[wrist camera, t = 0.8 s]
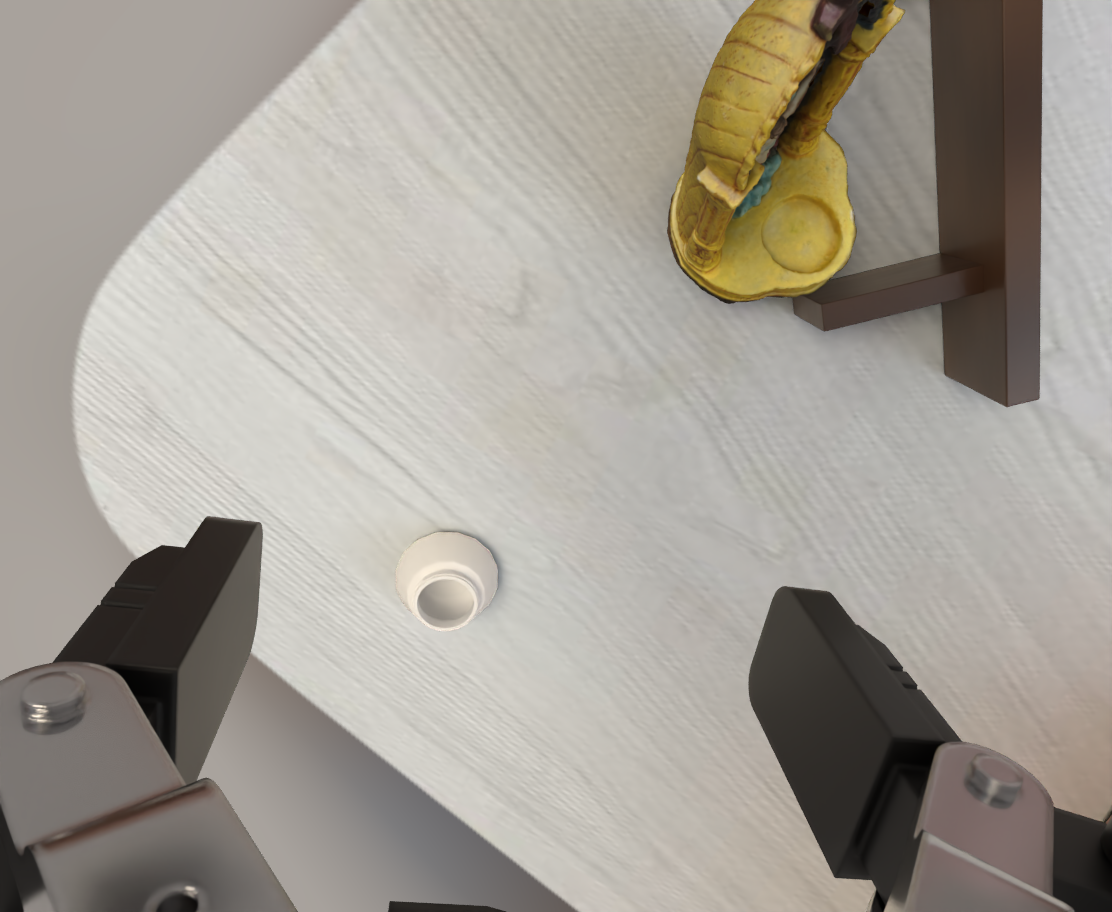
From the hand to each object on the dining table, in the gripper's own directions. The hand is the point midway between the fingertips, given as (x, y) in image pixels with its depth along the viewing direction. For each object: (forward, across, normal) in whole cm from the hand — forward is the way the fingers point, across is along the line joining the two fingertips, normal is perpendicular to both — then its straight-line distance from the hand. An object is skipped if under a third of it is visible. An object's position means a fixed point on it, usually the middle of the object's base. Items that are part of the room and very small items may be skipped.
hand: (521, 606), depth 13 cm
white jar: (+26, 0, +14) cm, 29 cm away
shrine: (+26, -9, -7) cm, 28 cm away
